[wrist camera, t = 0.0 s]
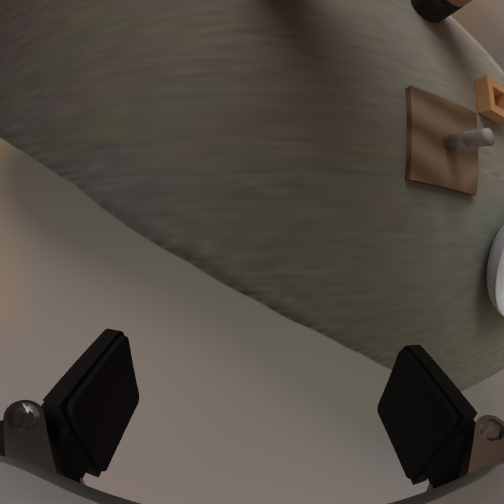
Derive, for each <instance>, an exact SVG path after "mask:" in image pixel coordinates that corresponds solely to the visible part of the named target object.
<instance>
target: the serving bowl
mask: <svg viewBox="0 0 504 504" xmlns="http://www.w3.org/2000/svg"><path fill="white" fill-rule="evenodd" d="M486 279H487V289H488V294H489V297H490V300H491V302H492V304H493V306H494V307H495V308H496V310H497V311H498V312H499V313H500V314H501V315H502V316H504V224H503V225H502V227H501V228H500V230H499V231H498V233H497V235H496V237H495V239H494V241H493V244H492V247H491V250H490V254H489V258H488V264H487V277H486Z"/></svg>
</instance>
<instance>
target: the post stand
mask: <svg viewBox="0 0 504 504" xmlns="http://www.w3.org/2000/svg"><path fill="white" fill-rule="evenodd" d="M406 101H407V157H406V176H405V179H407V180H411V181H416V182H421V183H425V184H430V185H434V186H438V187H442V188H446V189H450V190H454V191H458V192H462V193H466V194H469V195H475V196H476V190H477V171H478V147H480V146H492V145H493V144H494V135H493V133H492V131H491V130H490V129H489V128H483V129H477V117H476V113H475V112H473V111H471V110H469V109H467V108H464V107H462V106H460V105H458V104H456V103H453V102H451V101H449V100H446V99H444V98H441V97H439V96H436V95H434V94H431V93H429V92H426V91H423V90H420V89H418V88H415V87H412V86H409V87H408V88H406Z"/></svg>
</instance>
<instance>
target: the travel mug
mask: <svg viewBox="0 0 504 504" xmlns="http://www.w3.org/2000/svg"><path fill="white" fill-rule="evenodd" d="M470 1H472V0H411V3H412V5H413V7H414V9H415V10H416V11H417V12H418V13H419V14H420V15H421V16H422V17H423V18H425V19H426V20H428V21H430V22H433V23H438V22H440V21H442V20H443V19H445V18H446V17H448V16H449V15H451V14H453V13H454V12H455V11H457V10H459V9H460V8H462V7H463V6H465V5H466V4H468V3H469V2H470Z"/></svg>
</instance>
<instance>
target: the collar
mask: <svg viewBox="0 0 504 504" xmlns="http://www.w3.org/2000/svg"><path fill="white" fill-rule="evenodd" d="M474 84H475V92H476V100H477V110H478V113H479V114H481V115H483V116H485V117H487V118H489V119H491V120H492V121H494V122H496V123H498V124H504V87H503V86H502V85H500V84H499V83H497V82H496V81H494V80H492V79H491V78H489V77H488V76H484V77H481V78H479V79H476V80H474Z"/></svg>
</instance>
